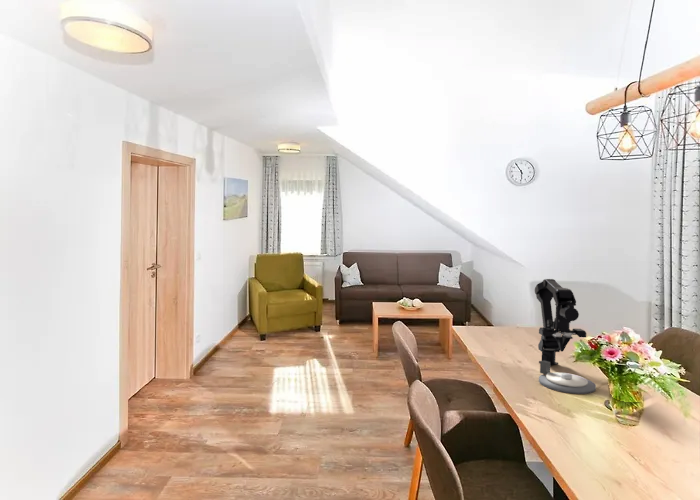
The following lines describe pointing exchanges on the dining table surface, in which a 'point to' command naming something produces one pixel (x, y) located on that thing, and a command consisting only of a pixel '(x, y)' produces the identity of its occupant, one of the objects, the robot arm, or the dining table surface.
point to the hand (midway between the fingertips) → (561, 351)
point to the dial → (562, 377)
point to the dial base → (575, 390)
